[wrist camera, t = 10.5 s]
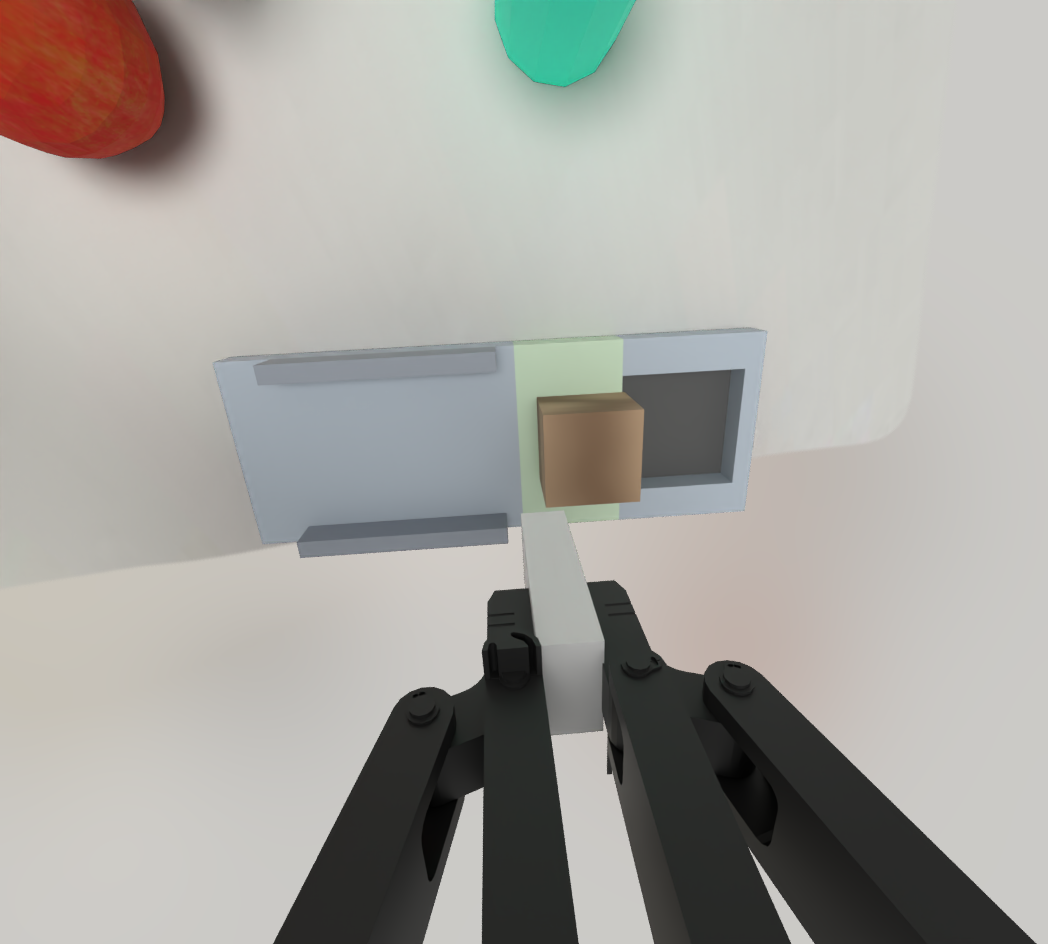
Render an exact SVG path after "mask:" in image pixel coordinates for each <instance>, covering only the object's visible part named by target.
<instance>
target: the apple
mask: <svg viewBox="0 0 1048 944" xmlns="http://www.w3.org/2000/svg"><path fill="white" fill-rule="evenodd" d="M164 99H165V95H164V89H163V83H162V77H161V70H160V64H159V58H158V53H157V51H156V49H155V47H154V45H153V43H152V41H151V39H150V37H149V34H148V32H147V30H146V28H145V26H144V24H143V22H142V20H141V18H140V16H139V13H138V11H137V9H136V7H135V5H134V4H133V2H132V1H131V0H0V135H2V136H4V137H7V138H9V139H11V140H14V141H16V142H19V143H21V144H24V145H26V146H29V147H32V148H35V149H38V150H41V151H44V152H46V153H50V154H54V155H58V156H62V157H67V158H97V159H101V158H106V157H110V156H115V155H118V154H121V153H123V152H125V151H128V150H130V149H132V148H134V147H137V146H138V145H140V144H142V143H144V142H145V141H147V140H149V139H151V138H152V137H153V135H154V134H155V133H156V131H157V130H158V129H159V127H160V126H161V123H162V119H163V115H164Z"/></svg>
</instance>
